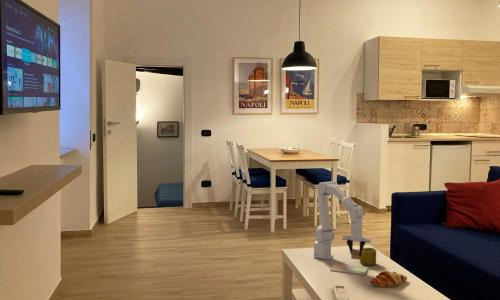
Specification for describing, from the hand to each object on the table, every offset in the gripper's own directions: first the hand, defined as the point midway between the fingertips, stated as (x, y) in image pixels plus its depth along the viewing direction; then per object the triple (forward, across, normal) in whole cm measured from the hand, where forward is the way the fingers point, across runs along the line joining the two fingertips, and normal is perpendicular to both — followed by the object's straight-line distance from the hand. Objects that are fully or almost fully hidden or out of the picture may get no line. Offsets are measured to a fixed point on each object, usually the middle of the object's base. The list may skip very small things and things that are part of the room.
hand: (355, 254), depth 245 cm
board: (+8, -3, 0) cm, 9 cm away
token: (+2, 0, 0) cm, 2 cm away
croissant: (+9, +18, -12) cm, 24 cm away
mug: (+9, +3, +15) cm, 18 cm away
